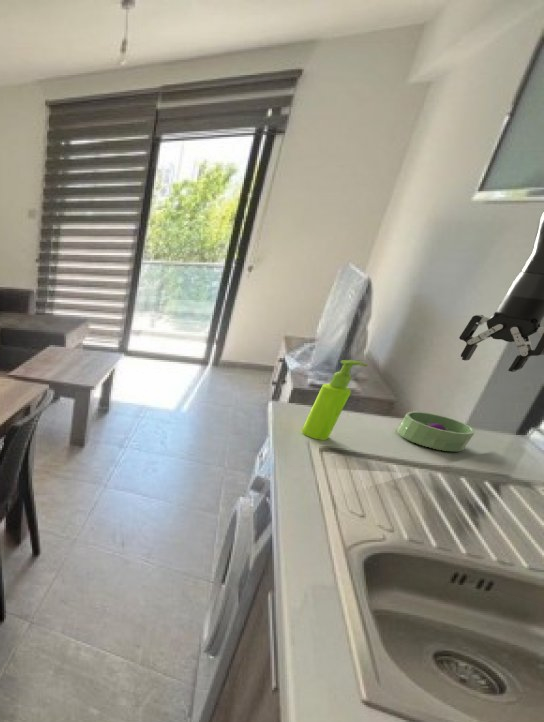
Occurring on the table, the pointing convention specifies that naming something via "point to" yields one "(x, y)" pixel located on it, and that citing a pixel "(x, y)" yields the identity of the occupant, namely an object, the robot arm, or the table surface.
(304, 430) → the soap dispenser
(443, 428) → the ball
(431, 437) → the bowl
